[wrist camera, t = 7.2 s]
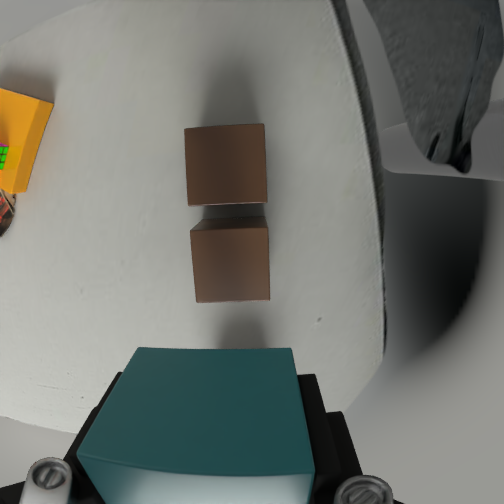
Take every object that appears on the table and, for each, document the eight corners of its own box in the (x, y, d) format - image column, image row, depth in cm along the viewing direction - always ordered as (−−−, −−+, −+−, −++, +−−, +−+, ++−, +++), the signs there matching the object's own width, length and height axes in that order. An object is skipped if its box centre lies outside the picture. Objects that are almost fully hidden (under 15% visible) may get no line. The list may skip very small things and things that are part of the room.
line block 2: (265, 216, 23) (268, 227, 19) (267, 277, 24) (270, 301, 20) (201, 219, 23) (189, 230, 19) (206, 279, 25) (196, 303, 20)
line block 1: (262, 132, 22) (264, 123, 17) (264, 196, 23) (267, 202, 19) (197, 136, 22) (183, 128, 18) (200, 200, 23) (187, 206, 19)
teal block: (291, 346, 9) (316, 470, 5) (286, 449, 10) (298, 555, 6) (137, 345, 9) (73, 453, 5) (163, 446, 10) (135, 545, 6)
